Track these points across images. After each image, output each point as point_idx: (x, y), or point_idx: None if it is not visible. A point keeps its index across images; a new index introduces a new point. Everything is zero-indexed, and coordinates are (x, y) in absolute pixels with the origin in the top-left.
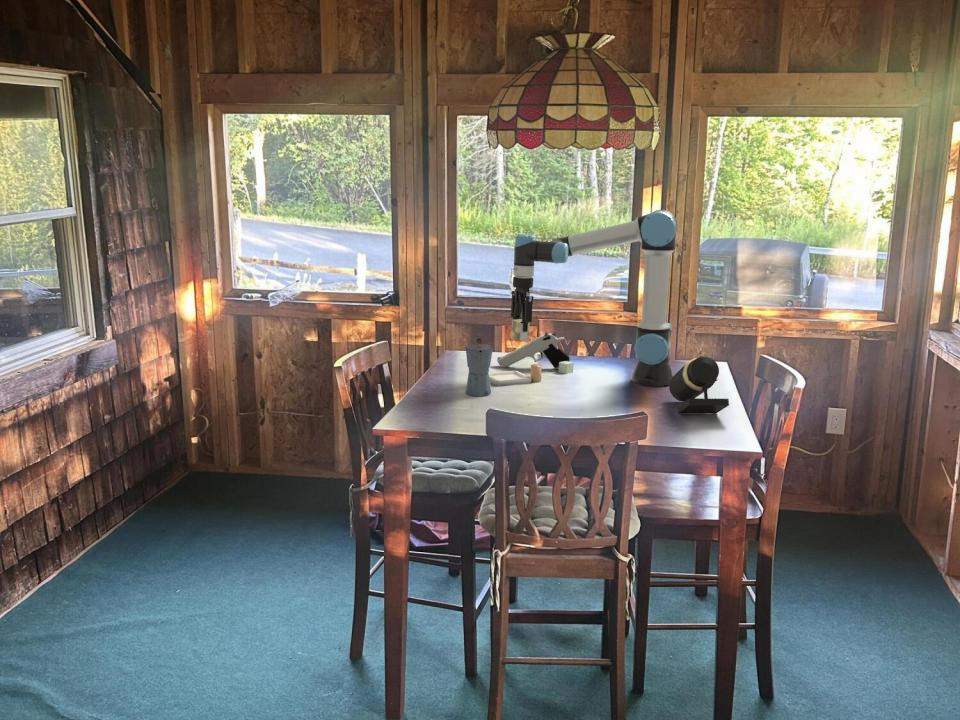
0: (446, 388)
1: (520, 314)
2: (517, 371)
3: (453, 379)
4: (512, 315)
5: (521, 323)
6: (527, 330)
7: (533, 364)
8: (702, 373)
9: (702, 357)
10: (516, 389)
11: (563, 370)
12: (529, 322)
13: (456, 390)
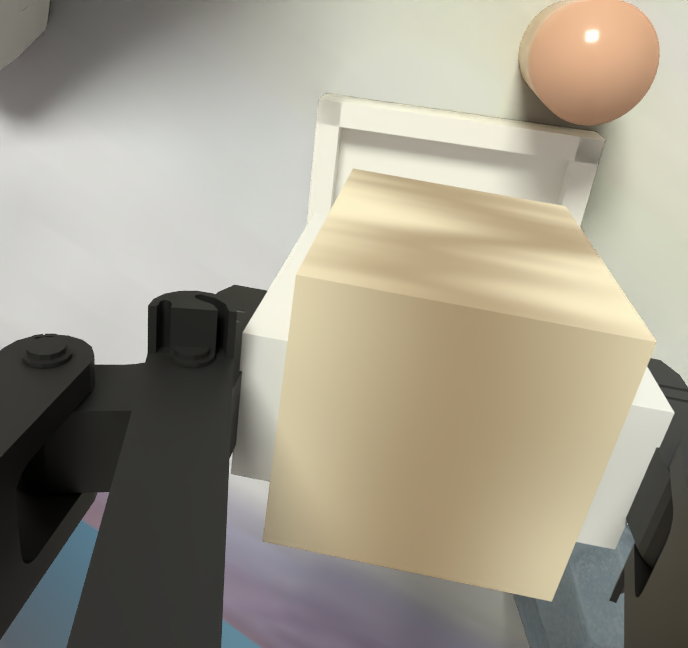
0: (393, 620)
1: (230, 426)
2: (354, 113)
3: (236, 501)
4: (90, 493)
5: (610, 543)
6: (680, 379)
7: (540, 62)
8: None
9: None
10: (669, 346)
11: None
12: (645, 344)
13: (457, 609)
